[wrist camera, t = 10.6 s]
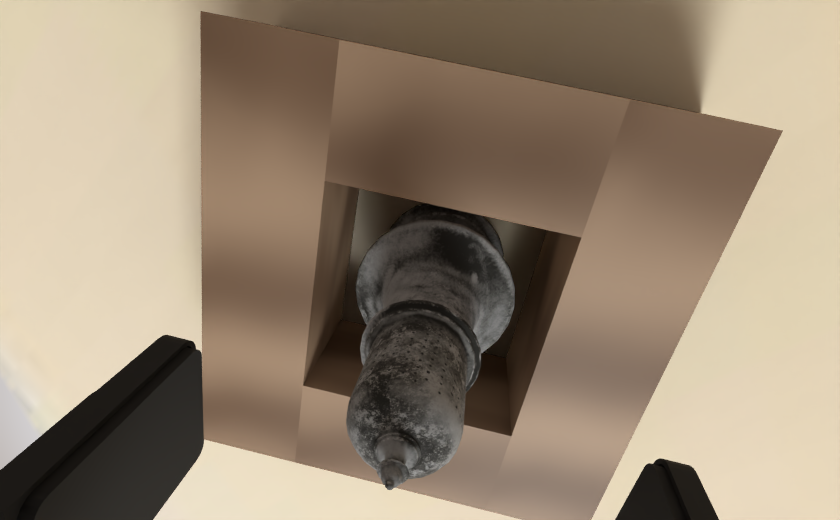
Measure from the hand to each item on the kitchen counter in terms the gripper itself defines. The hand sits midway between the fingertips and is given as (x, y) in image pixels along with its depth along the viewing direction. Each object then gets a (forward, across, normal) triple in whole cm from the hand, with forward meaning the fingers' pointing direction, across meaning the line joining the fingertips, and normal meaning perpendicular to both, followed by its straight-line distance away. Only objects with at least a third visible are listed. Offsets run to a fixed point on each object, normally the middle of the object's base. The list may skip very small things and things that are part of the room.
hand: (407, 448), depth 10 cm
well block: (+11, 0, +1) cm, 11 cm away
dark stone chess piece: (+12, 0, +1) cm, 12 cm away
